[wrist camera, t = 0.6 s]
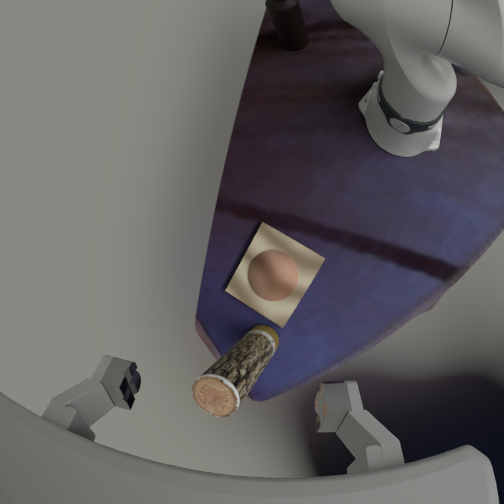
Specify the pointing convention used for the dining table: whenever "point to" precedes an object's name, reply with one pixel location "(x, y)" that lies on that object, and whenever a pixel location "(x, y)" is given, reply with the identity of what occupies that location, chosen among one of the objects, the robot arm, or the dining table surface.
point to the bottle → (288, 23)
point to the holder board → (274, 274)
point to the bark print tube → (235, 372)
